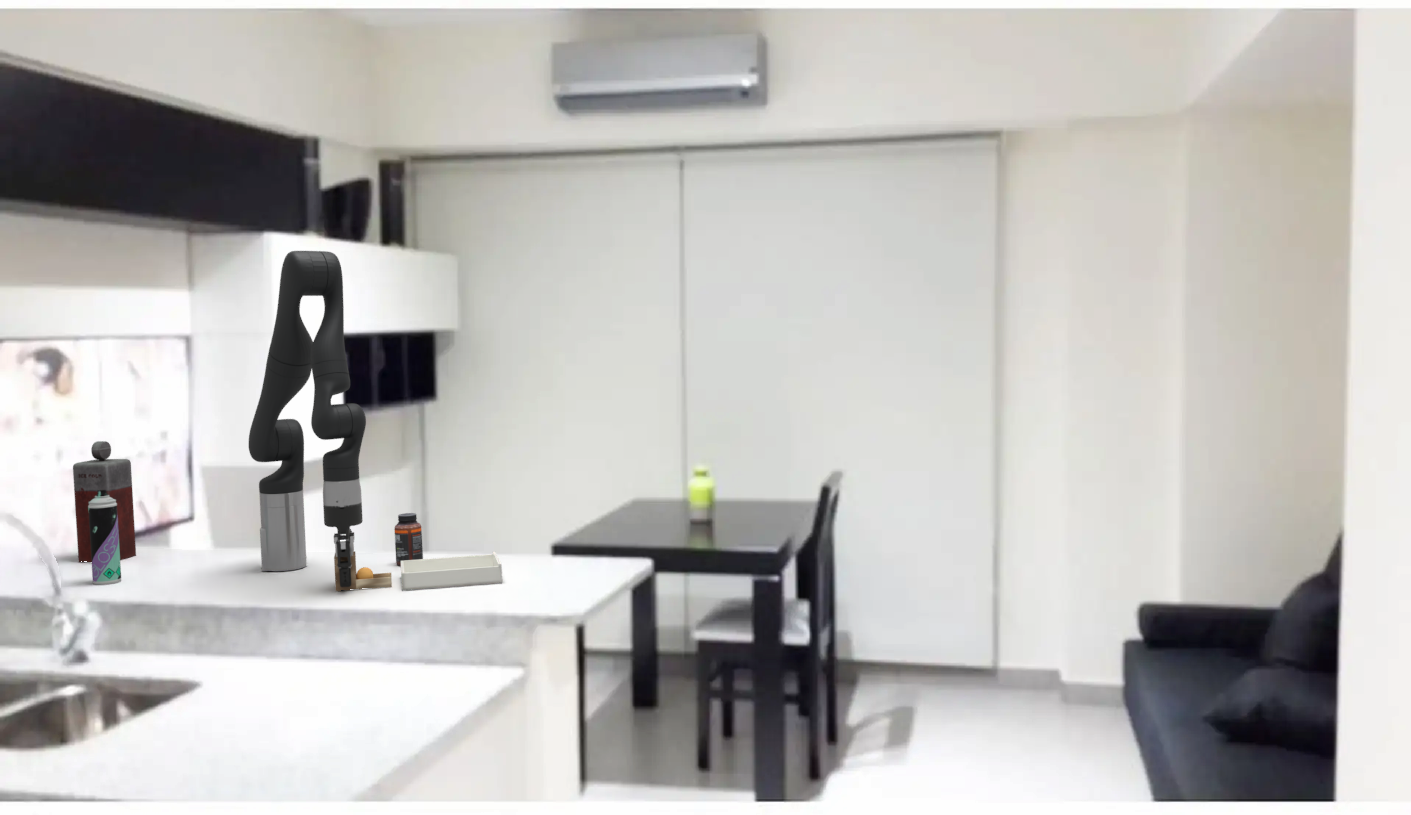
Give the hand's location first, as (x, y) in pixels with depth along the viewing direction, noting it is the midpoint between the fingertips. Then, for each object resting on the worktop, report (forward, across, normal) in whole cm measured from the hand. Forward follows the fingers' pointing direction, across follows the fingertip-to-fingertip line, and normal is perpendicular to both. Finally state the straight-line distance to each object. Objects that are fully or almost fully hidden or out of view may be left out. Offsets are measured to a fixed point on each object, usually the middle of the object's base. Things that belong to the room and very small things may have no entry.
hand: (346, 583), depth 245 cm
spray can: (+1, -25, -50) cm, 56 cm away
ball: (-1, 0, +4) cm, 4 cm away
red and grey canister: (+1, -55, -57) cm, 79 cm away
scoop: (+1, 0, +3) cm, 4 cm away
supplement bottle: (+1, -21, +13) cm, 25 cm away
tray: (+1, 0, +21) cm, 21 cm away
